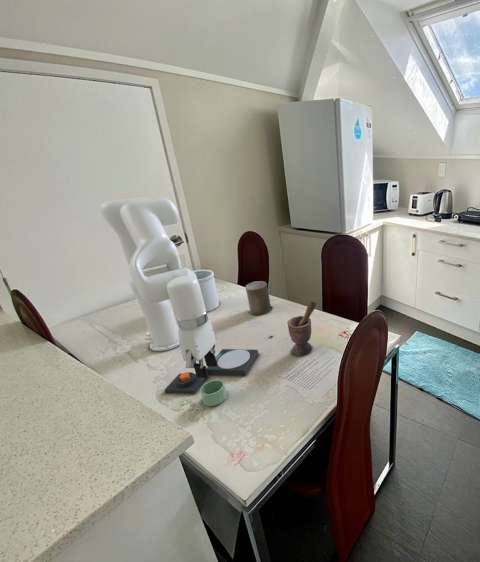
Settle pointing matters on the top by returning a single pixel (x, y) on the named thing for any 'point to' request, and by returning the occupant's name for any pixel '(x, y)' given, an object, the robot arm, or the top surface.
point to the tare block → (185, 384)
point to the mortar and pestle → (301, 330)
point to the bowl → (213, 392)
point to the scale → (233, 362)
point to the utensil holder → (208, 288)
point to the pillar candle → (258, 297)
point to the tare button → (184, 377)
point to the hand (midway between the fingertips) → (207, 370)
